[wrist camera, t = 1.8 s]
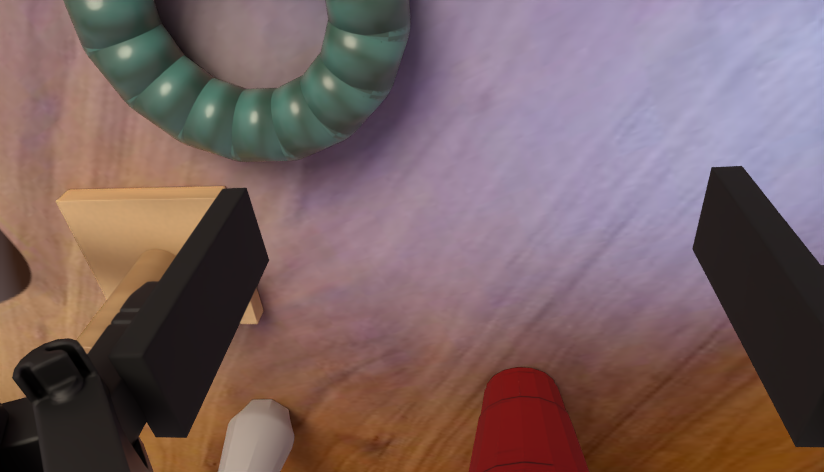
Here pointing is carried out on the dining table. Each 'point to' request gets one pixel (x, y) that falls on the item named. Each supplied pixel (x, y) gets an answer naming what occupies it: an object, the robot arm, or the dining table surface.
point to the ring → (238, 107)
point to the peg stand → (134, 240)
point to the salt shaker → (258, 438)
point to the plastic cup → (525, 427)
